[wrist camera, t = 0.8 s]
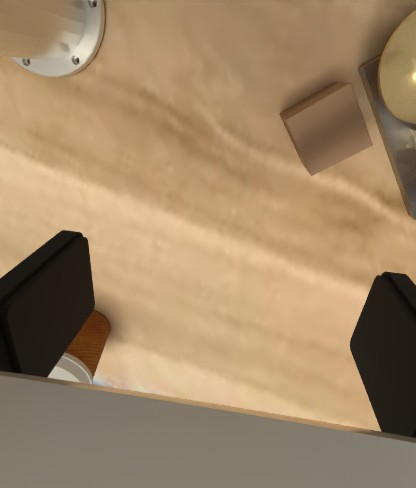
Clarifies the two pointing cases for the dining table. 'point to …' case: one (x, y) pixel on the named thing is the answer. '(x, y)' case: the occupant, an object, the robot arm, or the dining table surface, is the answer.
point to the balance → (397, 104)
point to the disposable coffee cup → (83, 351)
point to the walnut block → (327, 127)
